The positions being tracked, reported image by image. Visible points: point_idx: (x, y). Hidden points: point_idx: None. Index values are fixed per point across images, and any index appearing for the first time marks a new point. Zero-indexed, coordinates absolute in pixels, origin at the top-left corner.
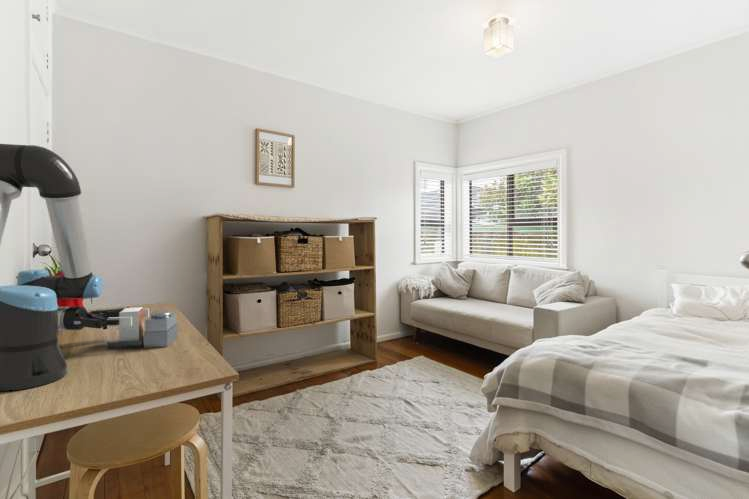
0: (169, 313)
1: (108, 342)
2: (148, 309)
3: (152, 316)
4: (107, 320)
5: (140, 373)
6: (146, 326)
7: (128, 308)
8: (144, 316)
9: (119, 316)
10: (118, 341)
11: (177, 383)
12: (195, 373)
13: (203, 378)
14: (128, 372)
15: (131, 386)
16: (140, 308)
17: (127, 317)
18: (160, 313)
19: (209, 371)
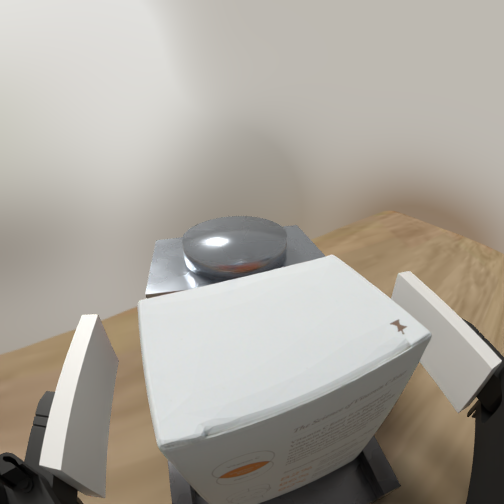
0: (242, 218)
1: (397, 482)
2: (91, 319)
3: (281, 257)
4: (501, 362)
5: (458, 272)
6: None
7: (206, 386)
8: (114, 379)
9: (417, 360)
10: (368, 452)
11: (442, 232)
12: (409, 229)
13: (414, 221)
14: (470, 287)
15: (483, 259)
16: (213, 288)
17: (422, 282)
18: (255, 231)
19: (394, 222)
